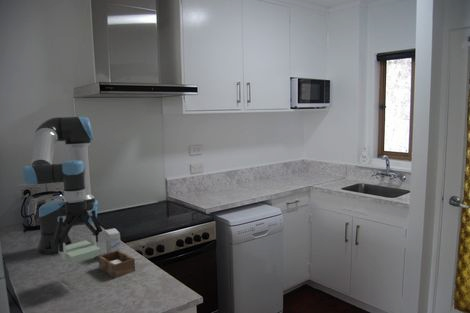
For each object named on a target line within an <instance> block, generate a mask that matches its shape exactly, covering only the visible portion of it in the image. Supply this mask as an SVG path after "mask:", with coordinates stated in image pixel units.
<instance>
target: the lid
mask: <svg viewBox="0 0 470 313" xmlns="http://www.w3.org/2000/svg"><path fill="white" fill-rule="evenodd" d="M101 249H102V248H100V247H99V246H97V245H96V246H95V245H93V244H92V242H90V241H88V240H86V239H85V240H82V241H78V242H74V243H72V244H70V245H66V259H67V260H66V261H68V262H70V263H71V264H74V263H77V264H78V263H82V262H85V261H89V260H92V259H95V257H97V256H98V257H99V256H101V255H102V250H101ZM58 251H59V249H58ZM58 254H59V255H60V256H62V253H61V252H60V251H59V253H58Z"/></svg>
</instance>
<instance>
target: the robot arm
mask: <svg viewBox="0 0 470 313" xmlns="http://www.w3.org/2000/svg"><path fill="white" fill-rule="evenodd" d="M34 141H35V143H34V149H33V154H32V158H31V163H30V165H25V166H23V167H22V179H23V183H24V184H26V185H29V186H30V185H35V186H36V185H44V184H45V185H46V184H52V183H53V184H54V183H56V184H57V183H63V192H64V195H63V196H64V200H60V199H59V200H54V201H50V202H47V203H44V204H42V205H41V206H40V207H39V208H38V218H39V228H40V229H39V230H40V231H39V232H40V238H39V241H38V245H37V251H38V254H41V255H54V254H59V251H60V252H61V253H62V255H61V260H63V261H68V260H67V259H66V245H70V244H73V242H72V239H71V236H70V234H69V232H70V230H71V229H72V228H73V227H77V226H86V227H87V229H88V230H90V232H91V233H92V234H90V236H91V237H90V238H91V242H90V243H92V244H93V245H95V246H97V243H98V242H99V235H100V233H102V232H103V229H102V227H101V224H100V223H99V221H98V205H99V204H98V203H99V202H98V200H97V199H95V196H94V195H93V194H92V189H91V178H90V176H91V175H90V163H89V149H88V148H89V146H90V145H91V141H94V135H93V131H92V125H91V122H90V118H88V117H86V116H67V117H64V116H63V117H58V116H57V117H51V118H50V119H47V120H45V121H43V122H42V123H41V124H40V125H39V126H38V127H37V128H36V130H35V132H34ZM58 142H64V144H65V146H66V147H67V148H68V152H69V155H68V156H69V160H66V161H65V160H64V161H63V162H62V163H53V160H54V151H55V144H56V143H58ZM92 224H93V225H94V226H93V225H92ZM58 249H59V251H58Z"/></svg>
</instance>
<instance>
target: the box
mask: <svg viewBox="0 0 470 313" xmlns="http://www.w3.org/2000/svg"><path fill="white" fill-rule="evenodd" d="M121 251H122V250H121ZM121 251H119V250H117V251H114V252H111V253H107V252H106V253H104V254H101V255H98V266H99V269H101V270H102V271H103V272H104V273H106V274H108V275H109V276H110V277H112V278H113V279H116V278H120V277H122V276H125V275H128V274H131V273H133V272H136V263H135V261H136V260H135V258H134V257H132V256H130V255H128V254H127V253H124V252H123V251H122V252H121ZM117 259H118V260H120V261H122V262H121V263H118V264H113V263H112V262H110V261H113V260H117Z"/></svg>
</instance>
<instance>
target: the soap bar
mask: <svg viewBox="0 0 470 313" xmlns="http://www.w3.org/2000/svg"><path fill="white" fill-rule="evenodd" d="M110 262H112V263H113V264H118V263H121V262H122V261H120V260H118V259H117V260H113V261H110Z"/></svg>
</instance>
